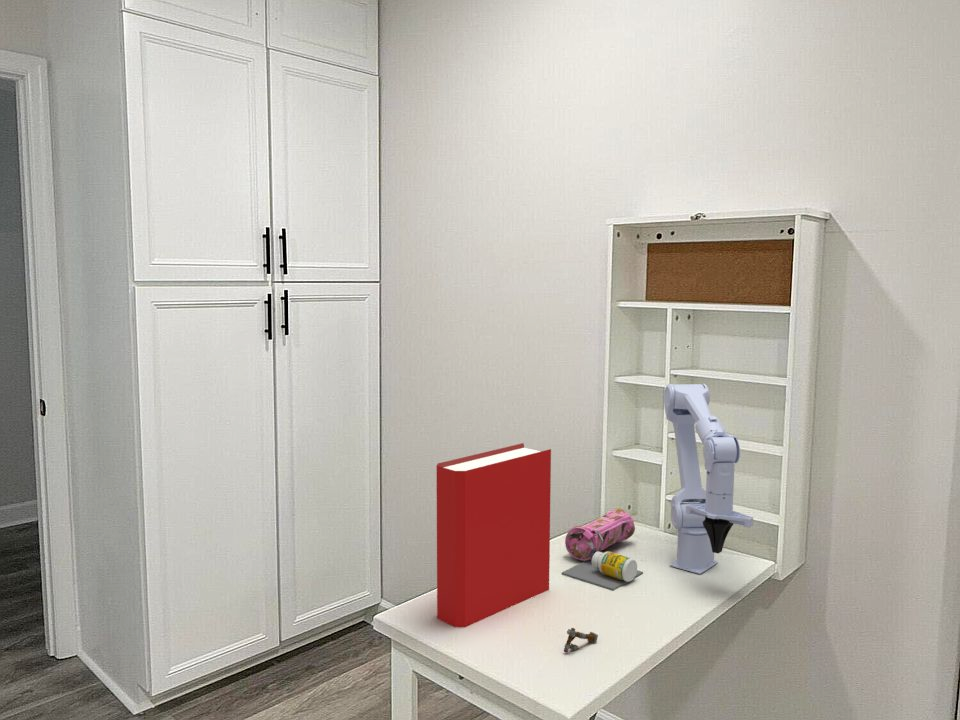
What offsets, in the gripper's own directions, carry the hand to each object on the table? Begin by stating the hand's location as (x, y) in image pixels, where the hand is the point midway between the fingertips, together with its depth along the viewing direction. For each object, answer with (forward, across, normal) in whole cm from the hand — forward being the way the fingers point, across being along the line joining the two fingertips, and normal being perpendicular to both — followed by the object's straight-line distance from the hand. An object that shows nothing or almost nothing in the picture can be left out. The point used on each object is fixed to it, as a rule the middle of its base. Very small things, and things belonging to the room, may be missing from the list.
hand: (717, 551), depth 174 cm
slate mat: (+9, -24, -8) cm, 27 cm away
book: (+10, -33, -36) cm, 50 cm away
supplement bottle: (+6, -16, -8) cm, 19 cm away
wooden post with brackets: (+10, -8, -40) cm, 42 cm away
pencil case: (+9, -33, +5) cm, 34 cm away
